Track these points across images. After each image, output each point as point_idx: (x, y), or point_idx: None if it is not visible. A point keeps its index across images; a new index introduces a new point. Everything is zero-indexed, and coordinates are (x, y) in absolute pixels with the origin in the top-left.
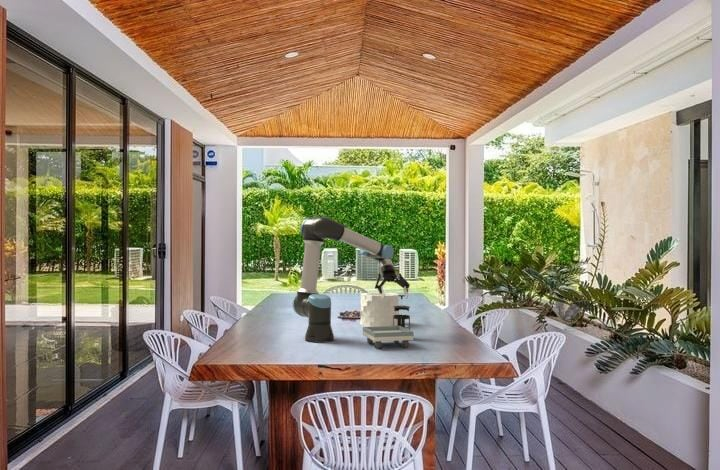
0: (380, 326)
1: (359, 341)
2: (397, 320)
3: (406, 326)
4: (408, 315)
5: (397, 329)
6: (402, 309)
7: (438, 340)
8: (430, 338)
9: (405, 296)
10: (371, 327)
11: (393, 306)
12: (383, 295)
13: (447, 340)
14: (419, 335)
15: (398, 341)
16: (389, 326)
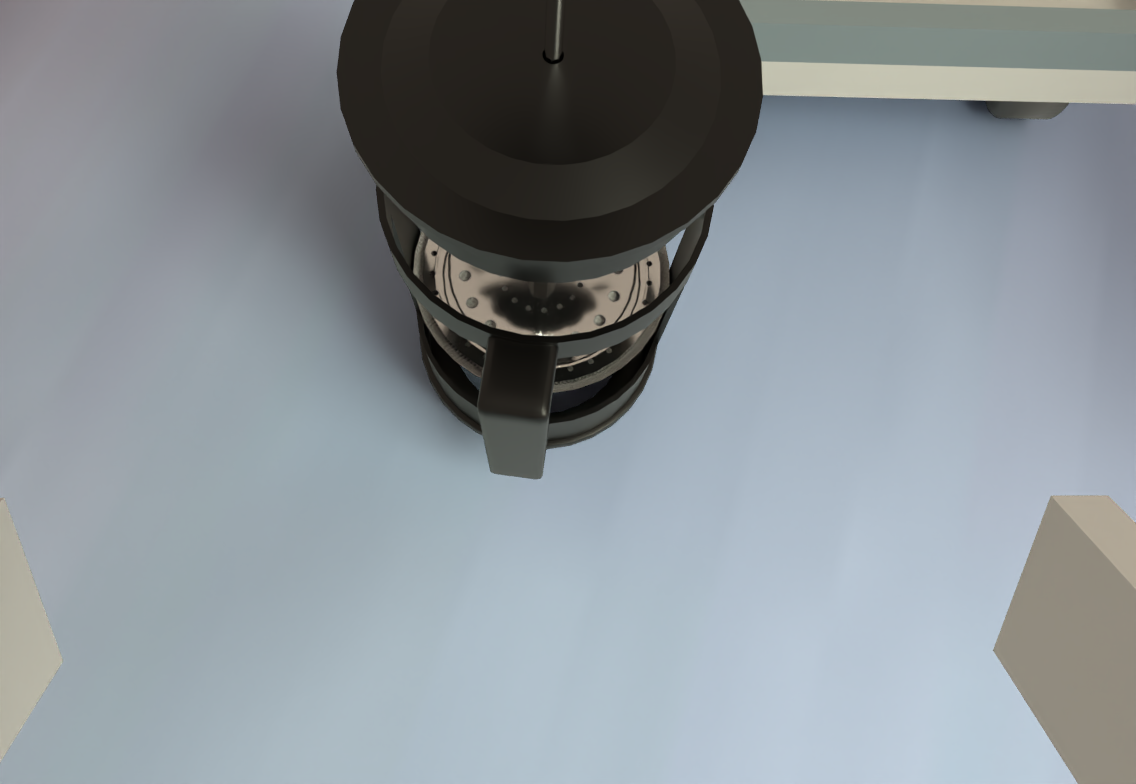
0: (965, 18)
1: (1111, 237)
2: (545, 443)
3: (454, 273)
4: (384, 206)
5: None
6: (471, 253)
7: (146, 87)
8: (169, 232)
9: (8, 727)
10: (1097, 14)
11: (745, 146)
12: (1125, 533)
13: (37, 63)
14: (196, 487)
15: None
16: (830, 1)
